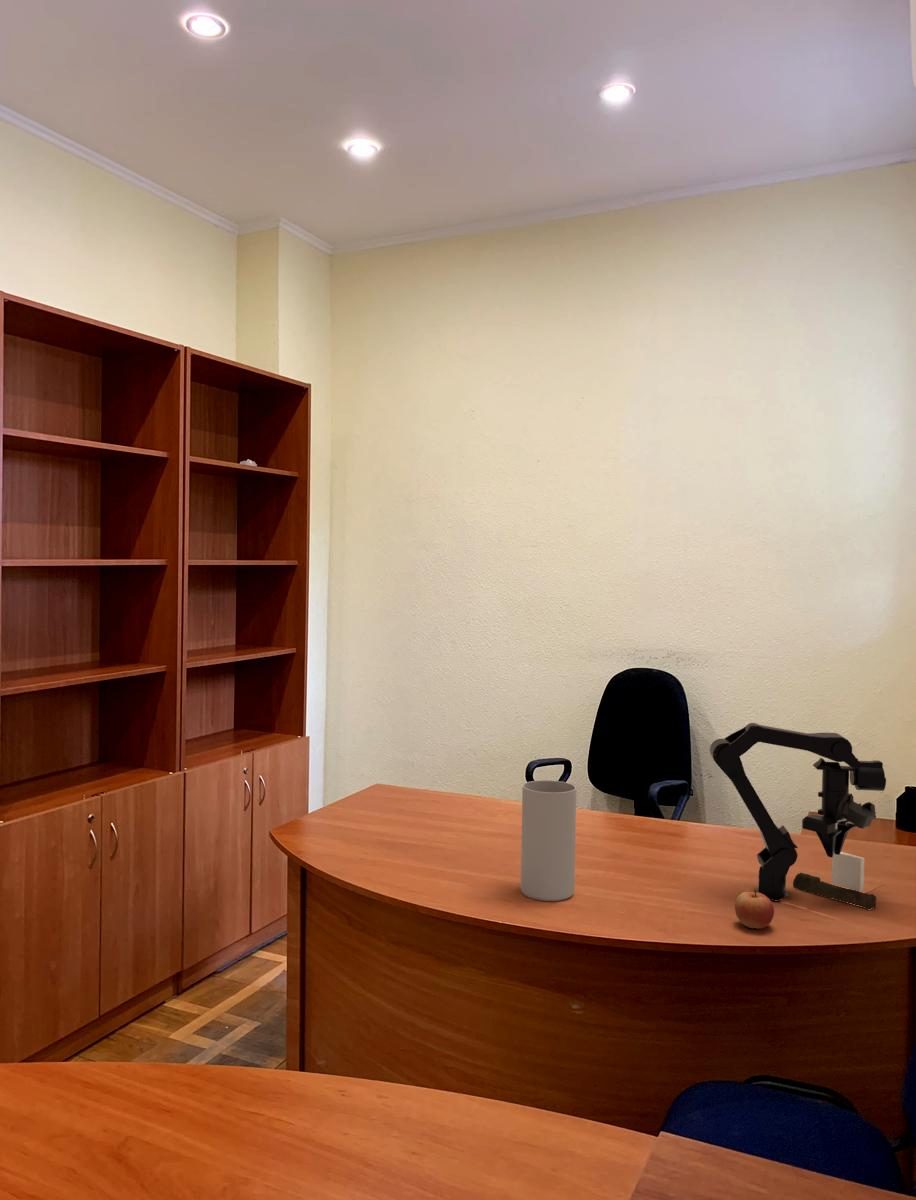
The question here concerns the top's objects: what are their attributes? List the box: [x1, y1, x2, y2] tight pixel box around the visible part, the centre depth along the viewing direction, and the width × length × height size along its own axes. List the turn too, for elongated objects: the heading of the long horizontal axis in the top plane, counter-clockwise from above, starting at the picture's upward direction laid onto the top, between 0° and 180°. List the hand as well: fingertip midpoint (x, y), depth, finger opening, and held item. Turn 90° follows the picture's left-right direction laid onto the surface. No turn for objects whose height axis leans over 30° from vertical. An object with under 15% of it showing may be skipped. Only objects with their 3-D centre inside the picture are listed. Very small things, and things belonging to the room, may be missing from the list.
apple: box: [734, 888, 775, 930], centre depth 193 cm, size 8×8×8 cm
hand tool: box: [792, 872, 877, 910], centre depth 210 cm, size 19×4×5 cm, turn 40°
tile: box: [831, 851, 865, 891], centre depth 216 cm, size 2×7×8 cm, turn 39°
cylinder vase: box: [520, 779, 577, 902], centre depth 211 cm, size 12×12×25 cm
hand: (833, 855), depth 210 cm, fingers open, 3 cm apart
